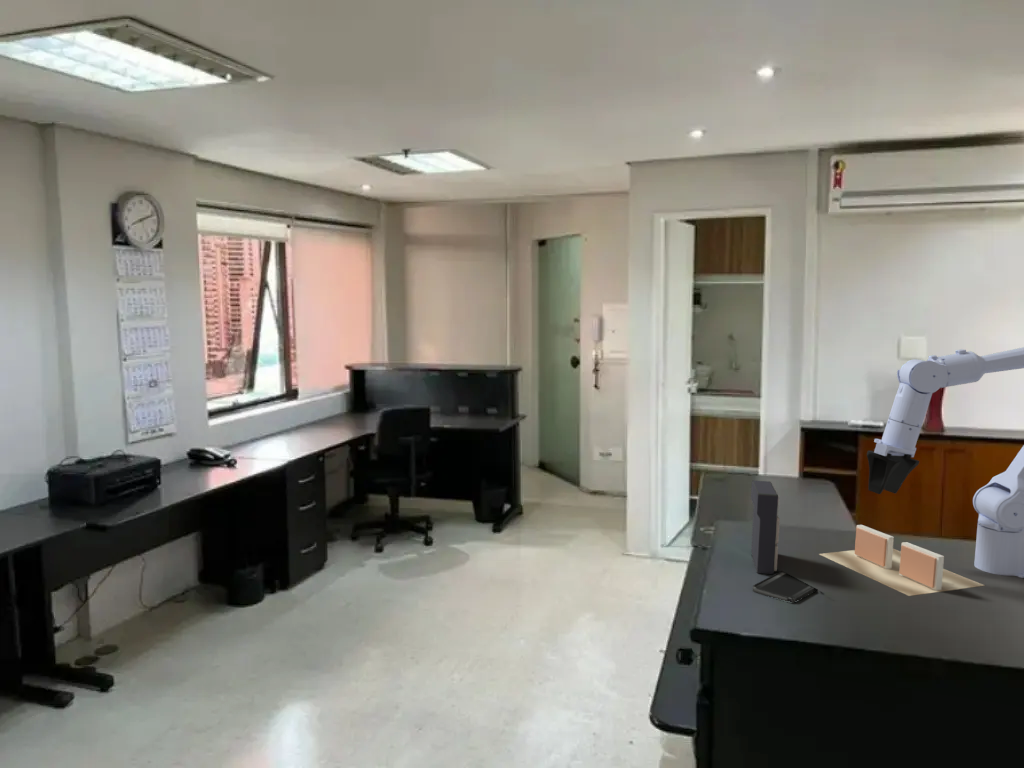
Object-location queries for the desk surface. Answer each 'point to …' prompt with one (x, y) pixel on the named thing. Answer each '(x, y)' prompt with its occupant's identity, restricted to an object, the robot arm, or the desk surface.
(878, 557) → the tile
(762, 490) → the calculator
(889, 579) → the board
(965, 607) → the desk surface
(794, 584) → the phone
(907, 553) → the tile
